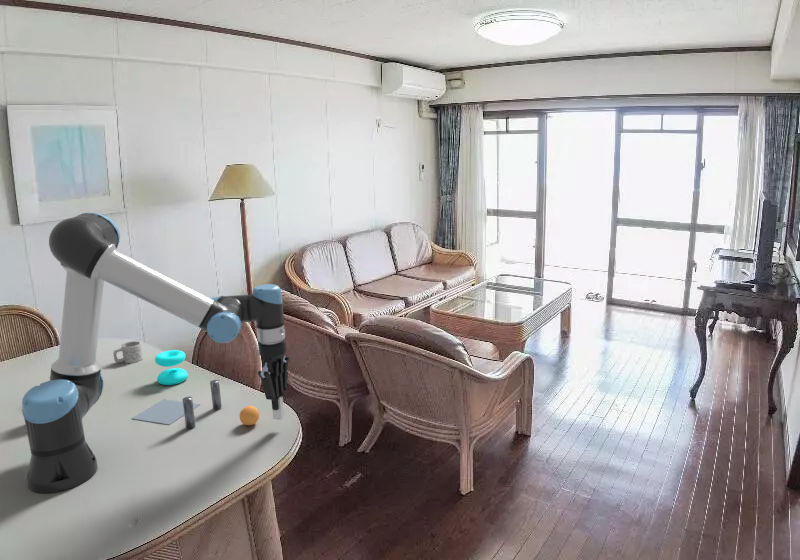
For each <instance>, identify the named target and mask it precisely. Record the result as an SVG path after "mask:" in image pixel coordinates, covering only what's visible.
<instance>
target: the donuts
mask: <svg viewBox="0 0 800 560" xmlns="http://www.w3.org/2000/svg"><path fill="white" fill-rule="evenodd" d="M185 359H186V353H185V352H184V351H182V350H178V349H172V350H171V349H170V350H165V351H161V352H160V353H158V354H156V356H155V357H154V362H155V364H156V365H158V366H159V367H168V368H169V367H174V366H177V365H180V364H182V363H183V362H184V361H185ZM188 376H189V374H188V372H187V370H185V369H184V368H180V367H174V368H169V369H165V370H162V371H161V372H160V373H159V374H158V375H157V382H158V383H159V384H160V385H164V386H174V385H178V384H180V383H183V382H184V381H186V380H187V379H188V378H189V377H188Z"/></svg>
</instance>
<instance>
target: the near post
mask: <svg viewBox="0 0 800 560" xmlns="http://www.w3.org/2000/svg"><path fill="white" fill-rule="evenodd" d="M182 402H183V407H184V416H183V417H184V421H185V422H184V423H185V429H186V430H192V429H195V428H196V420H195V419H196V418H195V412H194V411H195V410H194V409H193V397H192V396H185V397H183V398H182Z"/></svg>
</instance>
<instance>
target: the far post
mask: <svg viewBox="0 0 800 560" xmlns="http://www.w3.org/2000/svg"><path fill="white" fill-rule="evenodd" d="M209 383H210V384H209V385H210V393H211V402H212V410H213V409H214V410H213V411H218V410H217V409H220V408H221V407H222V397H221V388H220V386H221V385H220V381H219V379H212V380H211V381H210V382H209ZM222 408H223V407H222ZM222 408H221V409H222ZM221 409H220V410H221Z"/></svg>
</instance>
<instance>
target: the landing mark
mask: <svg viewBox="0 0 800 560" xmlns="http://www.w3.org/2000/svg"><path fill="white" fill-rule="evenodd" d="M200 405H201V404H200V403H193V410H194V409H196V408H197V406H198V407H199V406H200ZM182 417H185V416H184V407H183V401H178V400H174V399H173V400H172V399H167V398H165V399H164V398H163V399H162V400H160V401H158V402H157V403H155V404H154V405H151V406H150V407H148V408H147V409H145V410H143V411H142V412H140V413H137V414H136V415H135V416H133V417H131V418H130V419H131V420H136V421H141V422H148V423H153V424H154V423H155V424H160V425H168V426H170V425H172V424H174V423H175V422H176V421H178V420H179V419H181V418H182Z"/></svg>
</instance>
